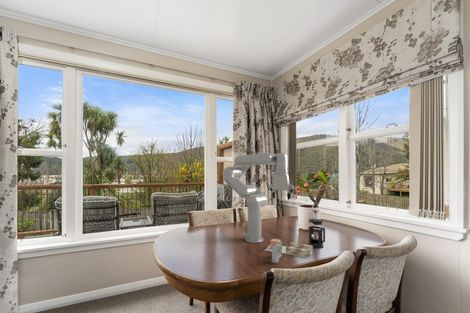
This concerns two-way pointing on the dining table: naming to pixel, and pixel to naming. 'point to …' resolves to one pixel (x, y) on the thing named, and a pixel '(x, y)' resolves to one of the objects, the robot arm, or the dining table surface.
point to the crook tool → (276, 252)
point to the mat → (283, 251)
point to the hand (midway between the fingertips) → (281, 198)
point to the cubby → (299, 249)
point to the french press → (315, 243)
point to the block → (273, 242)
